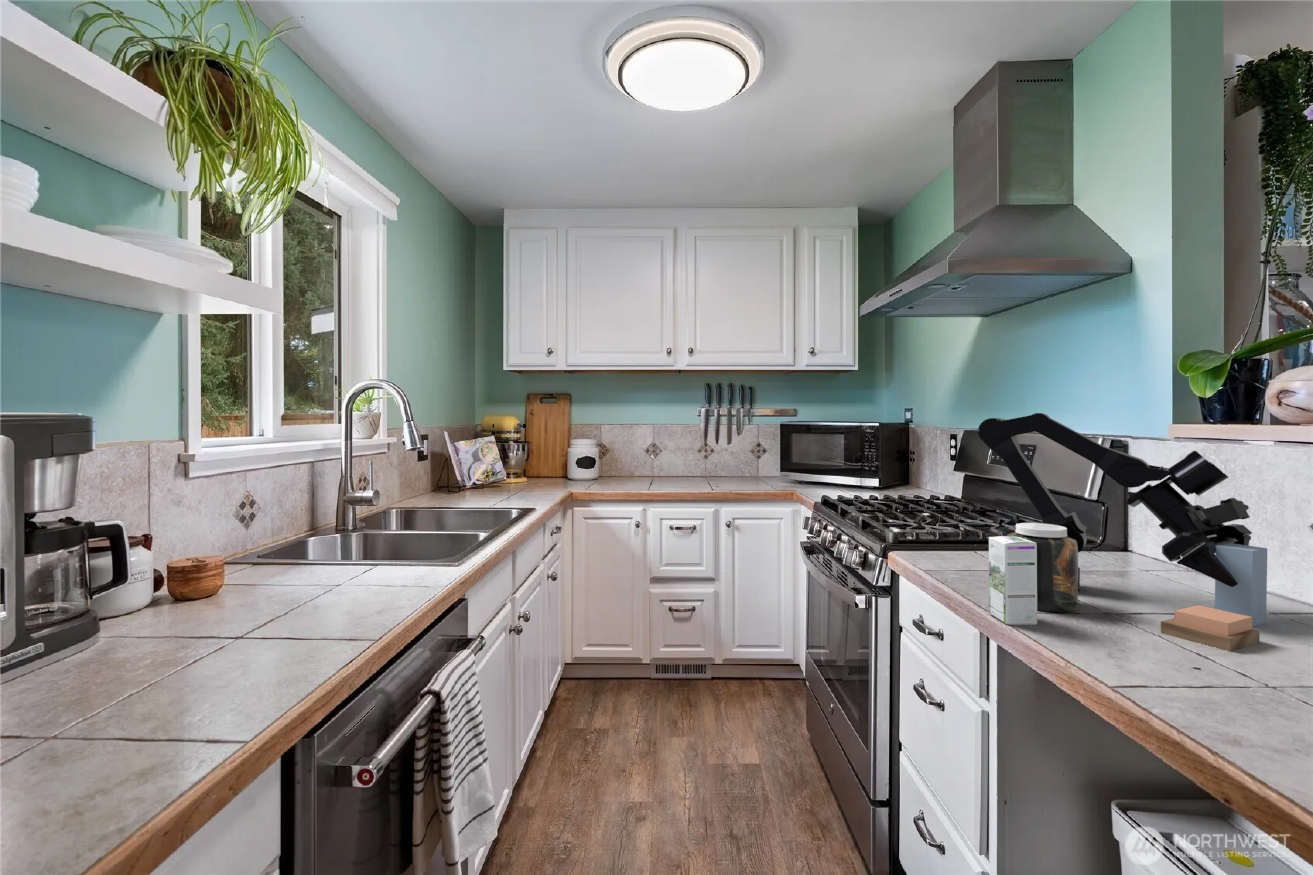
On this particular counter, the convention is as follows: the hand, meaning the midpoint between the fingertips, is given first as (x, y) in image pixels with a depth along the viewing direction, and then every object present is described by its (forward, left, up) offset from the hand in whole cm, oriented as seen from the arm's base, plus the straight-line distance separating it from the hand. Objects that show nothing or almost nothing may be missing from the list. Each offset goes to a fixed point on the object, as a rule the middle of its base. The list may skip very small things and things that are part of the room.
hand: (1249, 582), depth 105 cm
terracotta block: (-10, -10, -5) cm, 16 cm away
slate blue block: (-1, +1, -7) cm, 7 cm away
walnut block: (-11, -10, -8) cm, 17 cm away
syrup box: (-39, -8, -7) cm, 40 cm away
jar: (-31, +4, -7) cm, 32 cm away
